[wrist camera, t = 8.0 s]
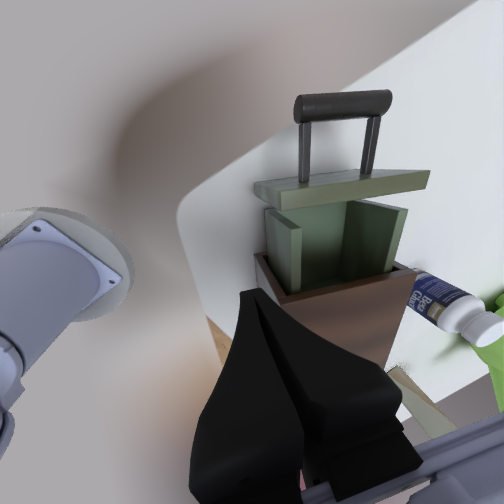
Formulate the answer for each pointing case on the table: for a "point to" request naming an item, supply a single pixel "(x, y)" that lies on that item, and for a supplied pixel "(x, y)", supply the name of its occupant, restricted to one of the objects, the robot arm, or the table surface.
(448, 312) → the pill bottle
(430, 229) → the table surface
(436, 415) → the box
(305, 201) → the drawer
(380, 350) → the cabinet
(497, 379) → the teapot
